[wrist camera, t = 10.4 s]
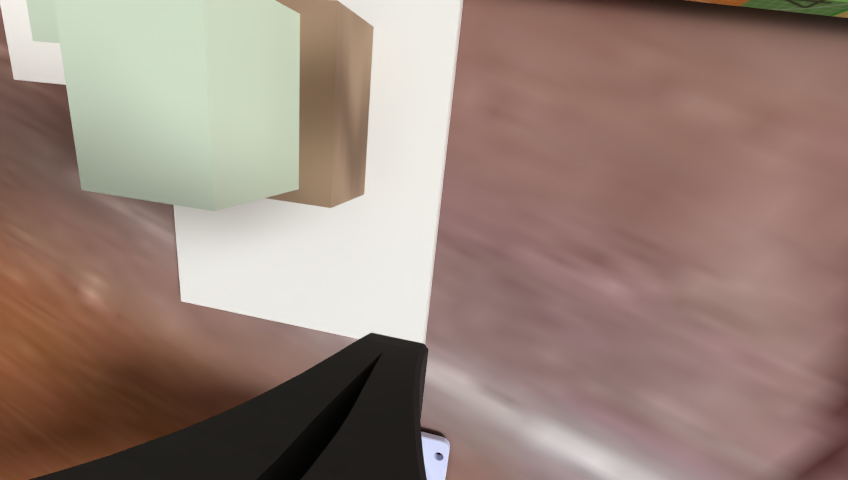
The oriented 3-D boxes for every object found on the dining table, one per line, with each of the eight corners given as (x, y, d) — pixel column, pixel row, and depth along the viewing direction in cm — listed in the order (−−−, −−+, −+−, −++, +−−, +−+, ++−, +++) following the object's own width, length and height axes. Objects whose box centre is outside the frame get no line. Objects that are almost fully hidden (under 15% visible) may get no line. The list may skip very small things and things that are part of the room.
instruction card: (174, 95, 20) (169, 95, 20) (18, 80, 22) (11, 79, 22) (160, -95, 18) (154, -99, 17) (-13, -95, 20) (-21, -98, 19)
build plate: (424, 346, 20) (422, 352, 20) (189, 296, 23) (181, 301, 22) (470, -65, 15) (468, -73, 15) (162, -69, 18) (150, -75, 17)
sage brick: (298, 189, 15) (214, 211, 11) (196, 174, 16) (81, 190, 12) (300, 13, 14) (200, -40, 9) (186, 8, 14) (47, -44, 10)
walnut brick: (364, 194, 18) (330, 208, 15) (230, 175, 20) (173, 184, 16) (373, 26, 16) (337, 0, 13) (224, 18, 18) (157, -8, 14)
